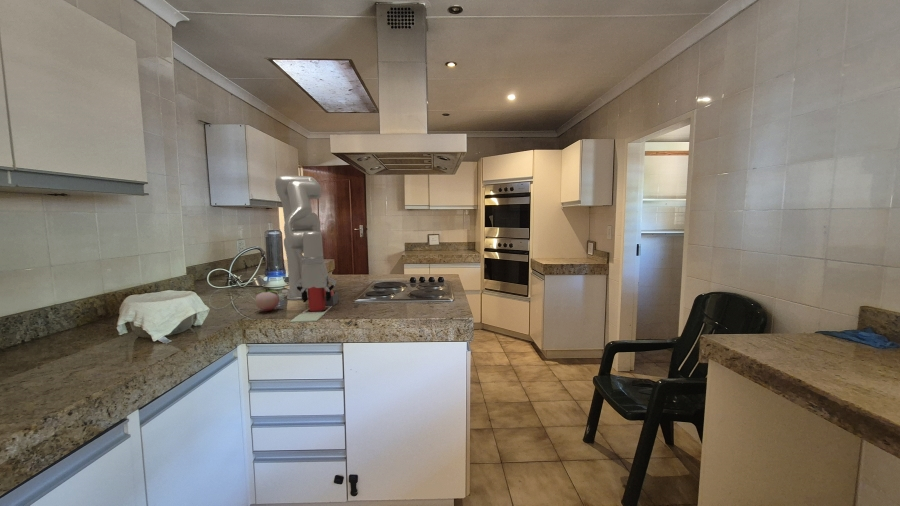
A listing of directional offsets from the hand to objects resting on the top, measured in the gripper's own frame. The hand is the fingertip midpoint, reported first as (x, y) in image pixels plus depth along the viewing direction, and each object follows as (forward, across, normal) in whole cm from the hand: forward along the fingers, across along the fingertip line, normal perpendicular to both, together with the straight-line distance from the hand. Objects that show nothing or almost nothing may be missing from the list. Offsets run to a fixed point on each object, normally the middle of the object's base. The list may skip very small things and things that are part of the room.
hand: (317, 300), depth 142 cm
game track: (+4, 0, -1) cm, 4 cm away
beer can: (+4, 0, 0) cm, 4 cm away
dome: (+2, +1, +10) cm, 11 cm away
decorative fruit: (+4, -21, +1) cm, 22 cm away
